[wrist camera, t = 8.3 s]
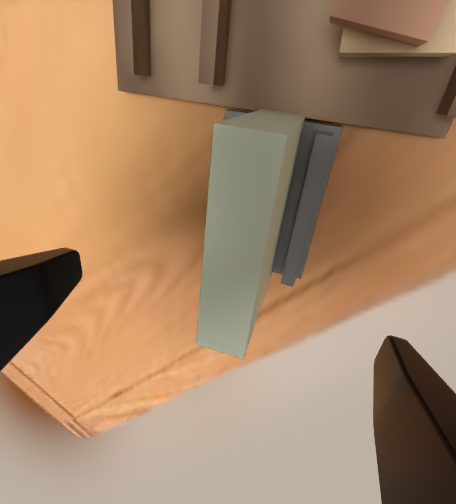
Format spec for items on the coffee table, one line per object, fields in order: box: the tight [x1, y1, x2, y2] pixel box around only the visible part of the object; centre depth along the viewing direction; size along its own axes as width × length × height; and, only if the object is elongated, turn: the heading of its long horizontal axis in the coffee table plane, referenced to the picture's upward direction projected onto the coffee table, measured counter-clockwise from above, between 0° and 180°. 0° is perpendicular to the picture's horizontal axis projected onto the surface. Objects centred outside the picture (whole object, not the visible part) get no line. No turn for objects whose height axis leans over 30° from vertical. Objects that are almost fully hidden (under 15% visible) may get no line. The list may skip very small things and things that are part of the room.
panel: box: [196, 109, 306, 359], centre depth 15 cm, size 2×10×8 cm, turn 173°
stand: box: [223, 109, 342, 286], centre depth 19 cm, size 6×10×2 cm
